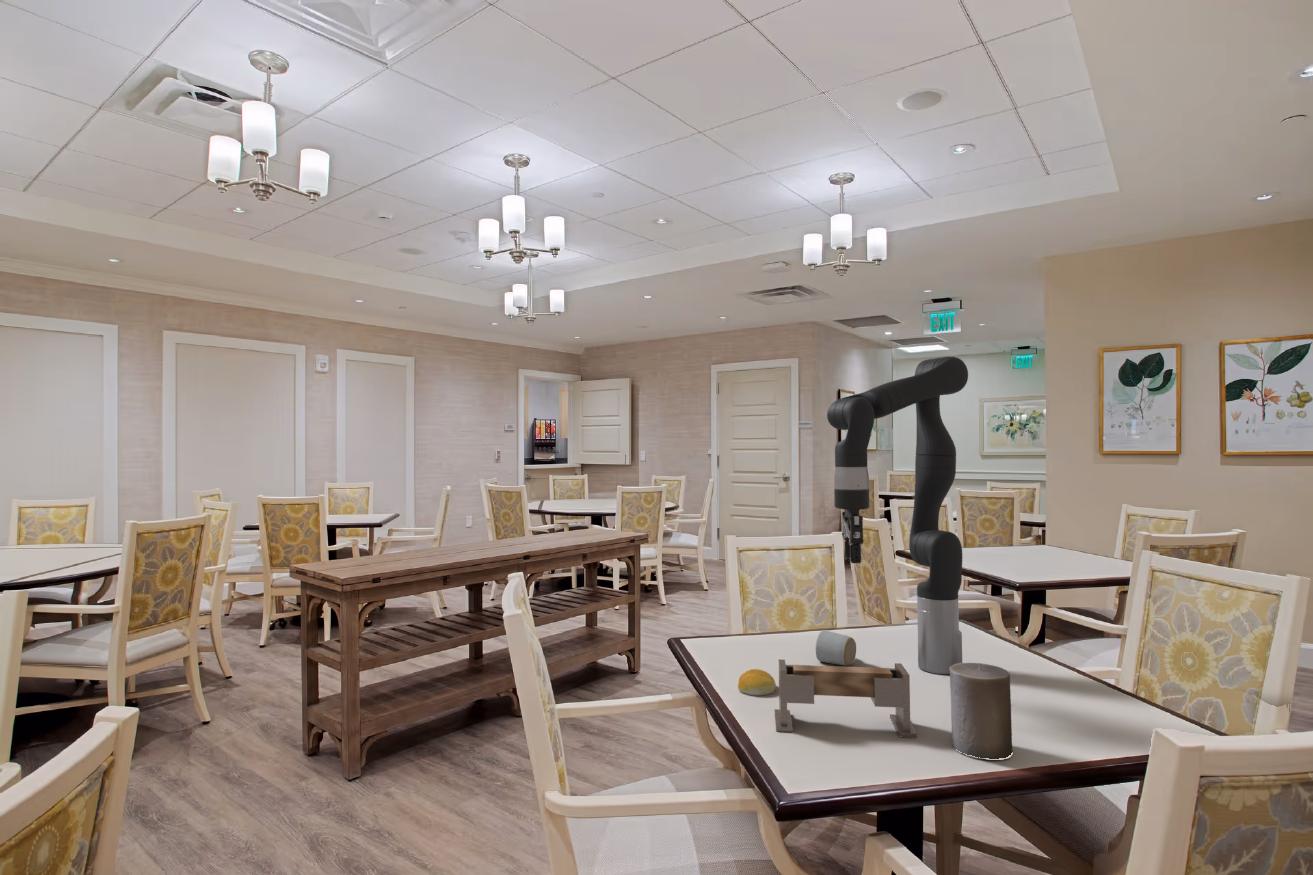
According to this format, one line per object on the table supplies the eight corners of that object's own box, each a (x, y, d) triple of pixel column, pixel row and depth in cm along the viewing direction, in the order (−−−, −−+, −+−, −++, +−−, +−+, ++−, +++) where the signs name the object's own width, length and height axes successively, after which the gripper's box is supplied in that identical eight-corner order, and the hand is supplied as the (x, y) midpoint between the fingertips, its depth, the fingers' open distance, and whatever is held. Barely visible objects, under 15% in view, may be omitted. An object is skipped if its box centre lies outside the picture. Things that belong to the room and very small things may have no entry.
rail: (888, 691, 130) (888, 668, 131) (892, 698, 127) (892, 673, 127) (793, 687, 133) (793, 664, 133) (794, 694, 129) (794, 670, 130)
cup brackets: (905, 719, 132) (904, 662, 133) (917, 737, 123) (915, 676, 124) (774, 713, 136) (773, 657, 136) (776, 731, 127) (775, 671, 127)
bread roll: (737, 696, 146) (736, 677, 146) (739, 682, 155) (739, 665, 155) (776, 698, 145) (775, 679, 145) (776, 684, 154) (775, 666, 154)
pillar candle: (1024, 752, 117) (1021, 664, 118) (992, 766, 112) (989, 674, 112) (971, 734, 125) (969, 652, 126) (939, 746, 120) (937, 660, 121)
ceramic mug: (847, 670, 163) (846, 637, 163) (814, 664, 168) (814, 632, 168) (862, 660, 171) (862, 629, 172) (831, 654, 176) (831, 624, 177)
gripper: (874, 488, 144) (875, 565, 144) (863, 485, 159) (864, 555, 158) (838, 488, 145) (839, 564, 145) (830, 486, 160) (831, 555, 159)
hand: (852, 560), depth 151 cm, fingers open, 8 cm apart
